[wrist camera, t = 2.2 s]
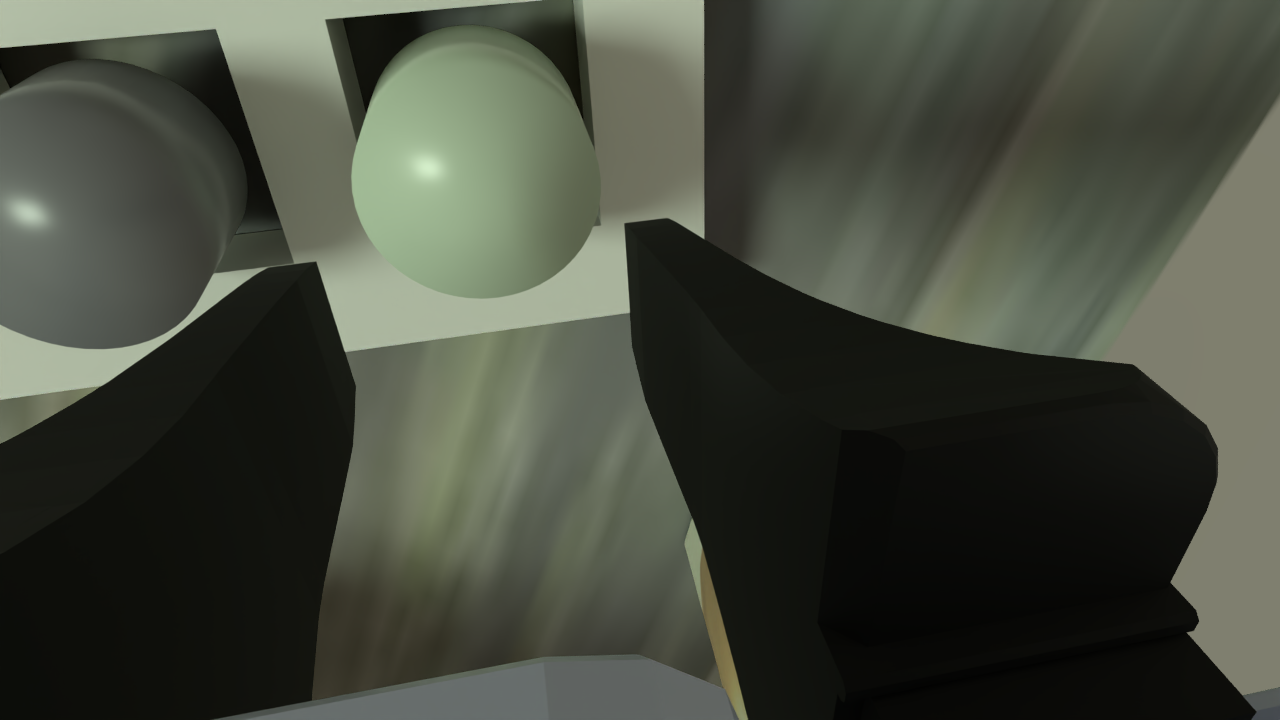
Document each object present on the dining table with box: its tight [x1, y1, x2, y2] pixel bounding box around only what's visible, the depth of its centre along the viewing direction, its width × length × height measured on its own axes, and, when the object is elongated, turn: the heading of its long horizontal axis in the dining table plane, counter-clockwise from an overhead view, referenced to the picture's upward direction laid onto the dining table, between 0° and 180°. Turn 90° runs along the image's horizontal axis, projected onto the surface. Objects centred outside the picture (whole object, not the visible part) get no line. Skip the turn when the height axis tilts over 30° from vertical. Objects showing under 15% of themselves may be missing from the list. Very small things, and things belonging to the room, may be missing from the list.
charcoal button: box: [0, 59, 248, 349], centre depth 15 cm, size 4×4×3 cm
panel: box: [0, 0, 704, 400], centre depth 17 cm, size 10×24×2 cm, turn 93°
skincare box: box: [685, 518, 748, 720], centre depth 23 cm, size 6×4×12 cm
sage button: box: [351, 25, 601, 299], centre depth 16 cm, size 4×4×3 cm
